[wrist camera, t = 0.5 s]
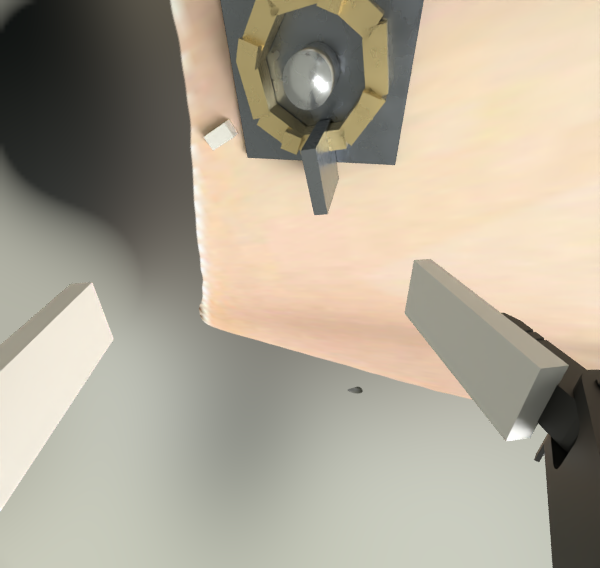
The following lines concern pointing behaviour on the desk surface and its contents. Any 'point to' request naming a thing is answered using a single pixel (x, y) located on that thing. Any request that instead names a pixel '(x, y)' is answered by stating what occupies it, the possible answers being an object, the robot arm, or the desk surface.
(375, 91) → the block with gold ring
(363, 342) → the desk surface
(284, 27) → the housing plate
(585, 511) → the robot arm
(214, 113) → the desk surface
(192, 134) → the desk surface
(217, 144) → the small white rectangular block
